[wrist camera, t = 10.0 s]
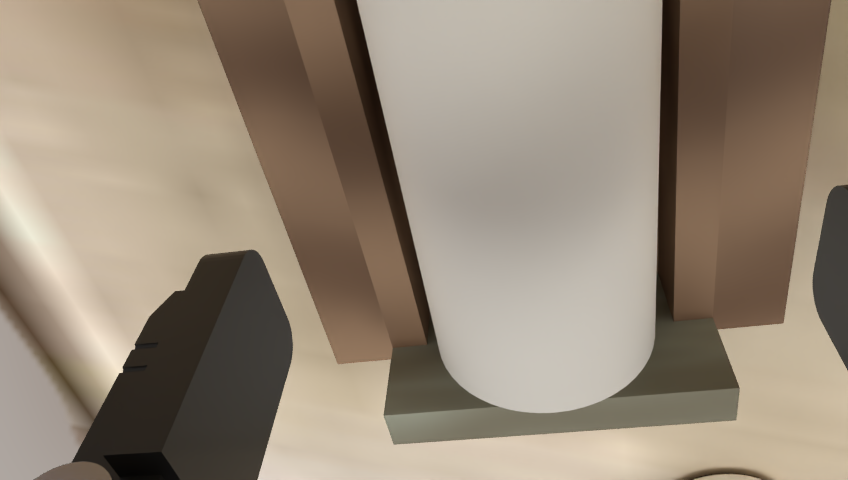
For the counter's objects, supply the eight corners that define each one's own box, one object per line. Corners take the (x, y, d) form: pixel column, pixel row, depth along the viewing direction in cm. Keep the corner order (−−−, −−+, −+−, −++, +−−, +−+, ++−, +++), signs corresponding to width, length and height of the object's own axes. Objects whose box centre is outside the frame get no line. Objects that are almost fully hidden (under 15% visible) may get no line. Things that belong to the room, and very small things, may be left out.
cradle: (83, -369, 13) (-115, -407, 9) (885, -601, 11) (1160, -807, 7) (343, 338, 24) (313, 479, 20) (770, 296, 22) (843, 445, 18)
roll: (334, -217, 13) (276, -182, 9) (627, -280, 13) (718, -275, 8) (441, 279, 21) (438, 431, 16) (630, 258, 20) (679, 410, 16)
